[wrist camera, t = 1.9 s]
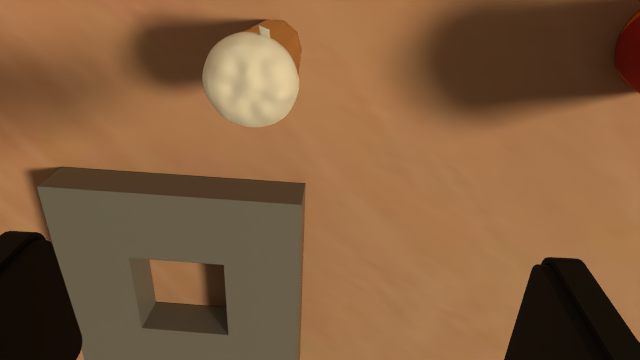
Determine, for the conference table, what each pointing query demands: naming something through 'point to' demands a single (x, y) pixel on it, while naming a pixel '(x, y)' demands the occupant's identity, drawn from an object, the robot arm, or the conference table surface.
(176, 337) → the socket plate
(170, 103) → the conference table surface
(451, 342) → the conference table surface
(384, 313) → the conference table surface
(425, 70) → the conference table surface
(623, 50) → the paper cup
